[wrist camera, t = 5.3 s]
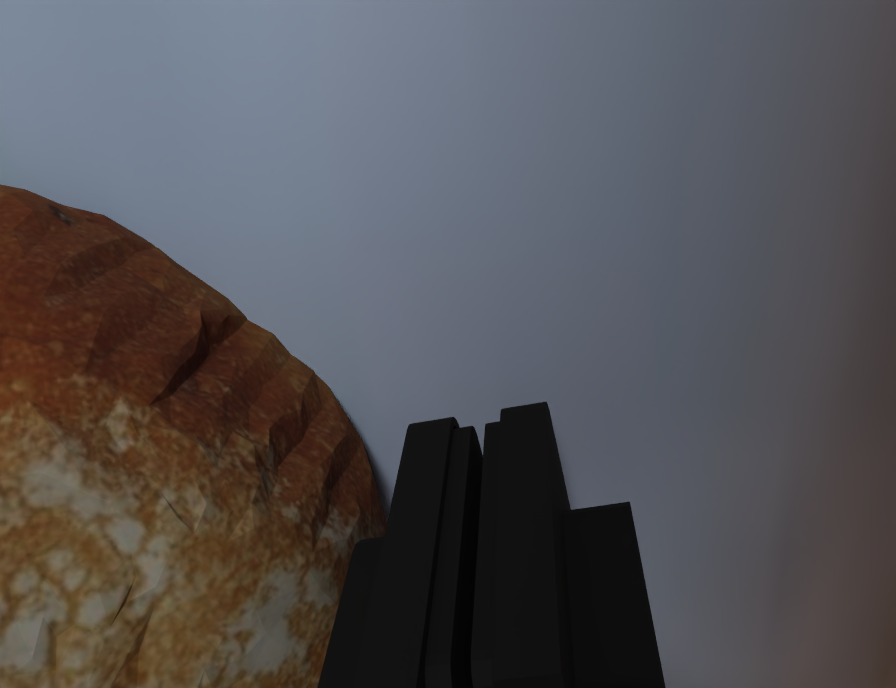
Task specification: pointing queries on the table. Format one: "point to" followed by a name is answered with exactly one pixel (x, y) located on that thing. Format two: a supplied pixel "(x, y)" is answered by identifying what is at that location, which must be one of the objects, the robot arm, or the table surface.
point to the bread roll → (160, 472)
